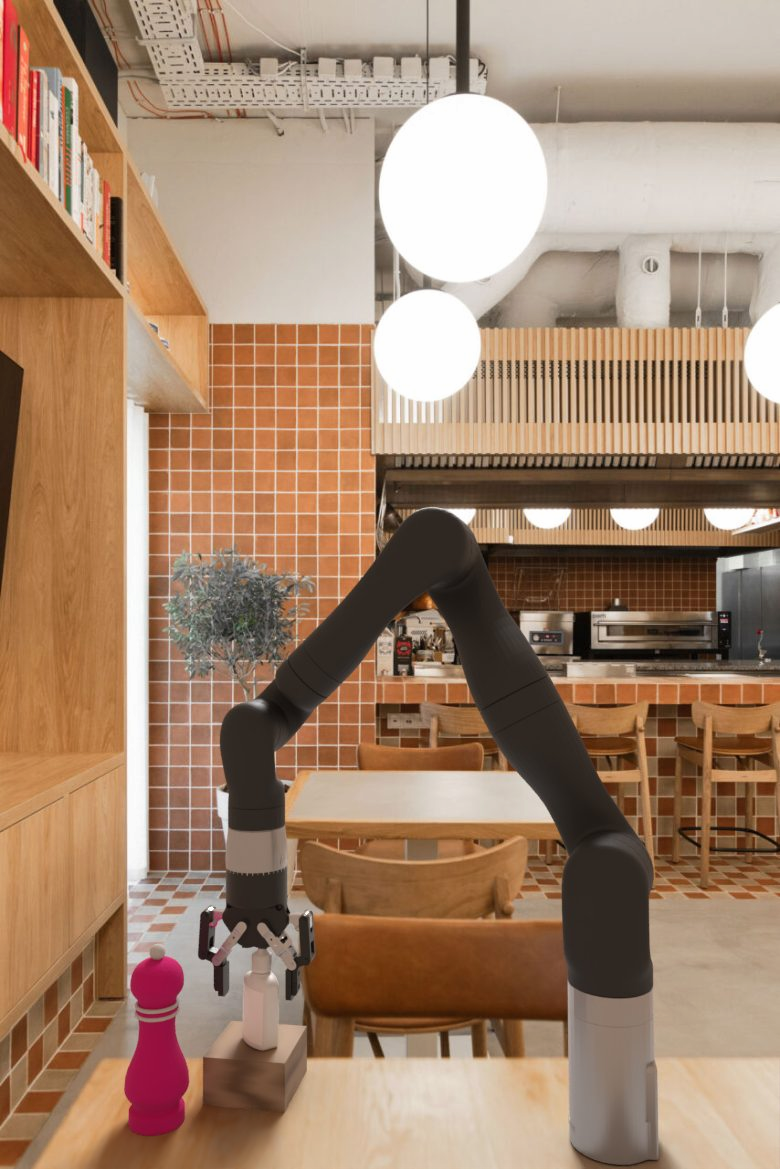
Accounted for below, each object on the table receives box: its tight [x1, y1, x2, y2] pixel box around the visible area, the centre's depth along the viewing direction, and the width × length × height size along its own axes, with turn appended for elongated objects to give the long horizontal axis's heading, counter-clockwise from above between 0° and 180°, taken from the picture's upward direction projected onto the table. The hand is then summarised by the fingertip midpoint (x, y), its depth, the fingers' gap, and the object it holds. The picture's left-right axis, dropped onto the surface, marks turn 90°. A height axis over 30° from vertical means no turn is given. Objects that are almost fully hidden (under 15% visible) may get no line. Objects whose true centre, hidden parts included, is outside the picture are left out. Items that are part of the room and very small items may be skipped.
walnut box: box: [202, 1020, 308, 1113], centre depth 114 cm, size 10×10×6 cm
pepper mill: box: [123, 943, 190, 1137], centre depth 107 cm, size 7×7×20 cm
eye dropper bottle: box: [241, 948, 280, 1051], centre depth 114 cm, size 4×6×12 cm
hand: (256, 996), depth 114 cm, fingers open, 8 cm apart
